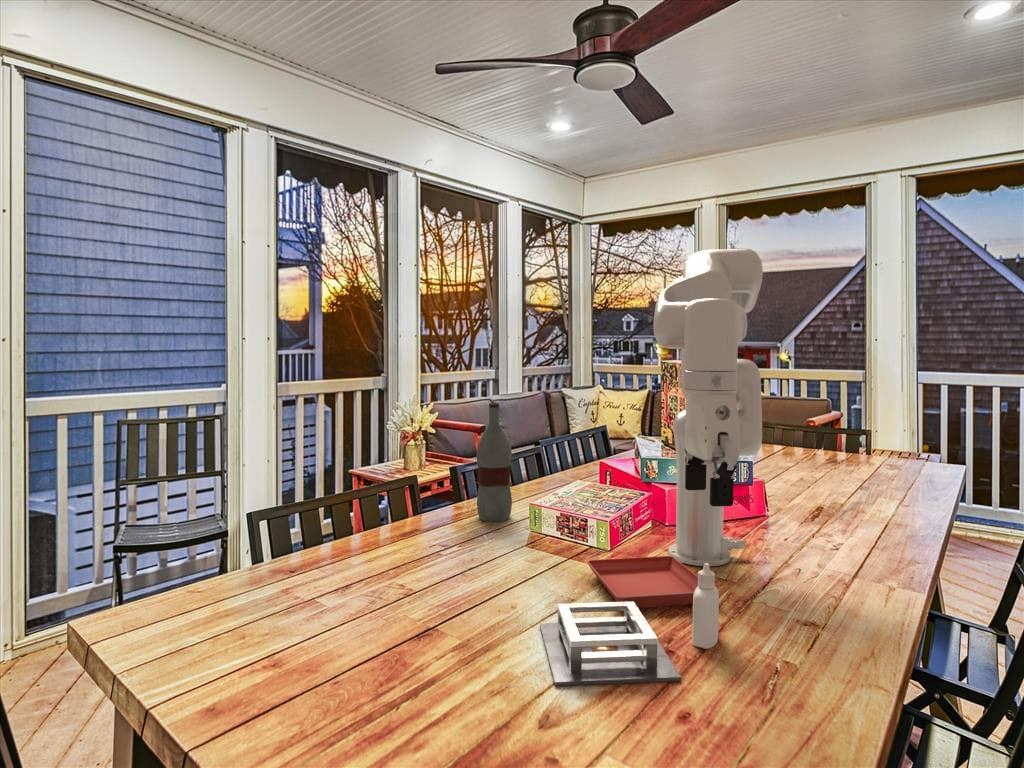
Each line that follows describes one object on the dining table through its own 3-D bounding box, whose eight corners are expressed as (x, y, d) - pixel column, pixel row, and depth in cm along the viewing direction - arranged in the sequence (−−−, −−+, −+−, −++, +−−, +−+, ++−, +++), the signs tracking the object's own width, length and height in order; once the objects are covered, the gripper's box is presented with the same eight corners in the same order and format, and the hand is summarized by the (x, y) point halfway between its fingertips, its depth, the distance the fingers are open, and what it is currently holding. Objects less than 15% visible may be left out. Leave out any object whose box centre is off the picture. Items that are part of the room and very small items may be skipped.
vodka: (496, 510, 165) (496, 400, 163) (519, 517, 159) (519, 403, 157) (469, 517, 159) (468, 403, 157) (492, 524, 152) (491, 405, 150)
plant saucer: (671, 570, 122) (672, 554, 122) (717, 608, 105) (717, 589, 104) (585, 576, 119) (585, 559, 119) (617, 616, 102) (617, 597, 101)
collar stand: (644, 623, 98) (644, 594, 98) (681, 681, 81) (681, 646, 81) (539, 627, 97) (539, 597, 97) (555, 686, 80) (555, 651, 80)
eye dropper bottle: (680, 639, 93) (682, 562, 92) (708, 631, 95) (709, 556, 95) (702, 652, 89) (703, 572, 88) (729, 643, 92) (731, 565, 91)
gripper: (762, 386, 81) (759, 512, 82) (711, 380, 99) (709, 484, 100) (708, 386, 81) (705, 513, 82) (666, 380, 98) (664, 484, 99)
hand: (707, 497), depth 91 cm, fingers open, 9 cm apart
